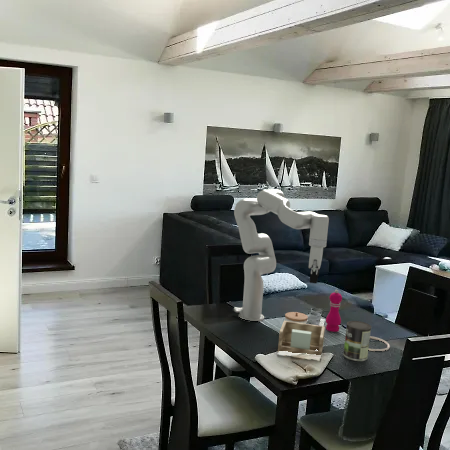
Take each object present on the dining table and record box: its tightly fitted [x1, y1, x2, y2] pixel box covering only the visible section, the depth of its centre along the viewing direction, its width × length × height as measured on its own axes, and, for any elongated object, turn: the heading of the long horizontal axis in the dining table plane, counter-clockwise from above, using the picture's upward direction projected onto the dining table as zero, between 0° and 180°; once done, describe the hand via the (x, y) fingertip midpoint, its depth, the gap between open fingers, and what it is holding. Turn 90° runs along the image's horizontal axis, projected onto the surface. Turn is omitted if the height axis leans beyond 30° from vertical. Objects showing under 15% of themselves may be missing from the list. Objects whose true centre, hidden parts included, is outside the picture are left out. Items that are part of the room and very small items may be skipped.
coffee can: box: [342, 320, 372, 362], centre depth 234 cm, size 10×10×14 cm
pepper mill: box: [325, 289, 343, 333], centre depth 265 cm, size 7×7×20 cm
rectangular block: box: [290, 329, 311, 350], centre depth 232 cm, size 8×3×9 cm, turn 77°
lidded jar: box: [284, 311, 309, 324], centre depth 259 cm, size 11×11×9 cm
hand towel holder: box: [368, 335, 391, 352], centre depth 251 cm, size 17×4×20 cm
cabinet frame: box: [277, 320, 326, 355], centre depth 235 cm, size 18×16×10 cm
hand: (314, 280), depth 244 cm, fingers open, 9 cm apart
